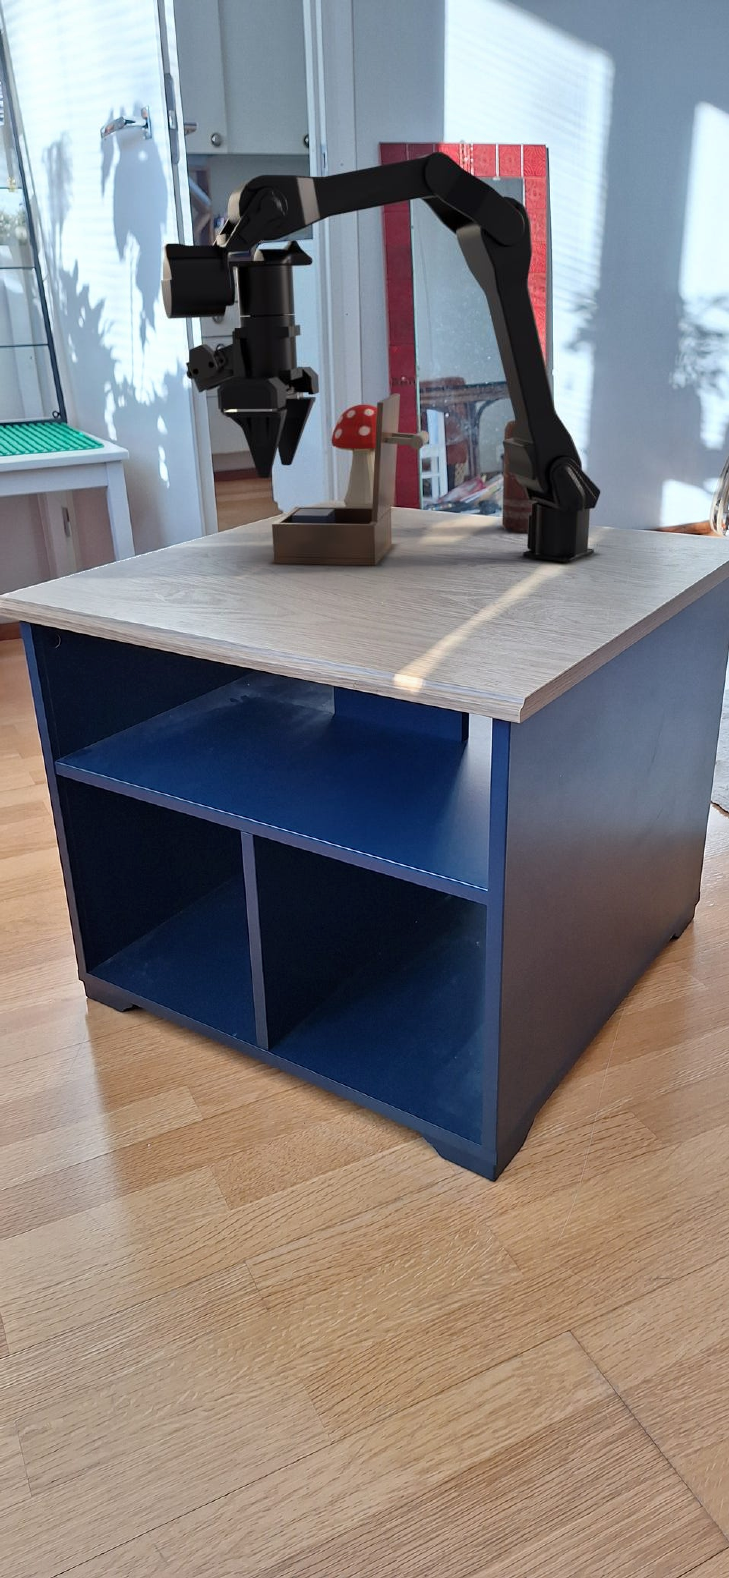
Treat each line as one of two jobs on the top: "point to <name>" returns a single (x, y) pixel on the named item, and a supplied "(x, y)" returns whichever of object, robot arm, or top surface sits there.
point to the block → (314, 516)
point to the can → (514, 496)
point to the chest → (333, 538)
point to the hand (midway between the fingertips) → (275, 471)
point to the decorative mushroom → (358, 451)
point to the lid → (389, 453)
